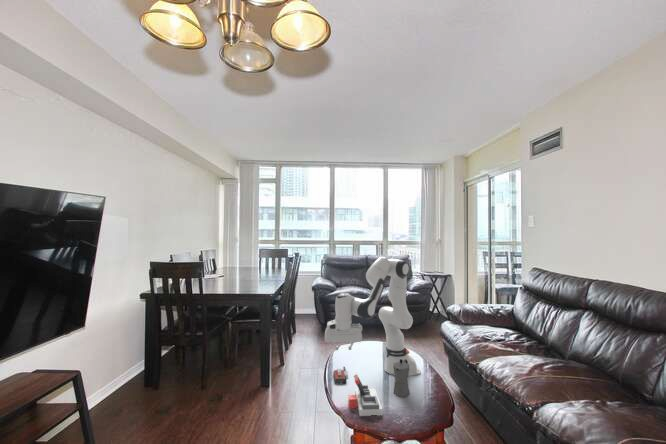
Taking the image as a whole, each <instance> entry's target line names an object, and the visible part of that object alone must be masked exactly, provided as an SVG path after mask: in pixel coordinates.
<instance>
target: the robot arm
mask: <svg viewBox="0 0 666 444" xmlns="http://www.w3.org/2000/svg"><path fill="white" fill-rule="evenodd" d="M409 272H410V265H409V263H408V262H407V261H405V260H403V259H398V258H387V257H385V256H380V257H378V258H377V259H376V260H375V261H374V262H373V263H372V264H371V265H370V266H369V267H368V269H367V271H366V274H365V279H366V281H367V283H368V284H369V285H370V286H371V287H372V289H371V292H370V294H369V295H368V297H367V298H365V299H363V298H360V297H356V296H353V295H351V294H350V293H349V292H340V293H339V294H337V295H336V297H335V301H334V302H335V303H334V311H335V318H334V319H333V320H332V319H331V320H329V321H327V323H326V328H325V331H324V341H325V342H326V343H333V346H334V348H335V349H334V350H335V351H339V346H338V345H337V343H350V344H349V345H348V351H352V347H353V346H354V343H355V342H359V343H361V342H362V340H363V333H362V332H363V325H362V324H360V323H352V316H355V317H359V318H361V319H363V320H369V319H371V318H372V317H373V316H374V315H375V313H376V308H377V305H378V303H379V301H380V299H381V296H382V294H383V292H384V289H385V285H386V284H385V278H387V276H389V277H390V280H389V284H388V285H389V286H388V296H387V297H388V300H389V302H391V305H392V306H382V307H380V309H379V311H378V318H379V320H380V322H381V323H382V324H383V328H384V330H385V331H384V332H385V338H386V347H385V356H386V358H385V363H384V368H383V370H384V371H385V372H387V373H388V374H390V375H394V368H393V363H395V362H400V359H402V360H405V359H406V360H407V362H408V364H409V375H408V377H409V376H415V375H420V374H421V369H420V367H419V366H418V364H417V362H416V360H415V359H414V358H413V357H412V356H411V355H410V351H409V349H408V348H406V347H405V337H404V333H403V332H402V331H401V329H402V330H408V329H410V328H411V327H412V326H413V322H414V319H413V316H412V315H411V313H410V311H409V310H408V309H409V308H408V305H407V289H408V288H407V287H408V284H407V283H408V279H407V275H408V274H409ZM402 362H403V361H402ZM394 376H395V375H394Z"/></svg>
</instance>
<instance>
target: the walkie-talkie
mask: <svg viewBox="0 0 666 444" xmlns="http://www.w3.org/2000/svg"><path fill="white" fill-rule="evenodd" d="M332 374H333V380H334V384H337V385H338V384H346V383H347V378H349V377H348V376H349V375H348V374H349V373H348V370H346V366H343V368H342V369H341V368H337V369H335V370H333V372H332Z"/></svg>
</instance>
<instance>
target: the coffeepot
mask: <svg viewBox="0 0 666 444" xmlns="http://www.w3.org/2000/svg"><path fill="white" fill-rule="evenodd" d="M402 361H403V362H402ZM393 368H394V384H393V395H395V394H396V396H397V397H402V398H407V397H409V396H410V393H411V392H410V388H409V383H408V382H409V381H408V379H409V376H408V375H409V364H408V362H407V360H406V359H405V360H402V359H400V362H395V363H393ZM408 395H409V396H408ZM406 396H407V397H406Z"/></svg>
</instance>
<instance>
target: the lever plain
mask: <svg viewBox="0 0 666 444" xmlns="http://www.w3.org/2000/svg"><path fill="white" fill-rule="evenodd" d="M352 376H353V378H354V379H356V378H358V380H359V382H360V384H361V386H362V388H363V389H364V387H363V385H364V384H363V383H362V381H361V379H360V377H359V375H358V374H357V372H354V373H352Z"/></svg>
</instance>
